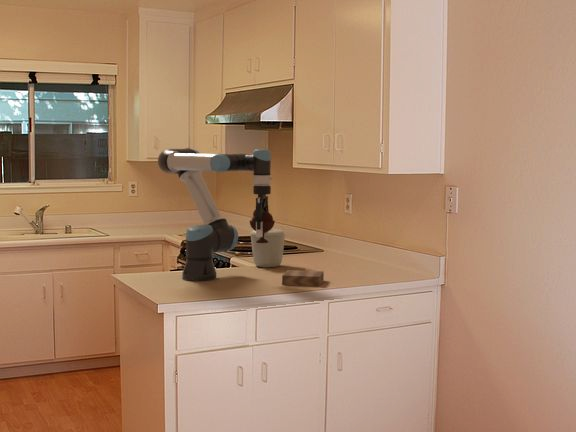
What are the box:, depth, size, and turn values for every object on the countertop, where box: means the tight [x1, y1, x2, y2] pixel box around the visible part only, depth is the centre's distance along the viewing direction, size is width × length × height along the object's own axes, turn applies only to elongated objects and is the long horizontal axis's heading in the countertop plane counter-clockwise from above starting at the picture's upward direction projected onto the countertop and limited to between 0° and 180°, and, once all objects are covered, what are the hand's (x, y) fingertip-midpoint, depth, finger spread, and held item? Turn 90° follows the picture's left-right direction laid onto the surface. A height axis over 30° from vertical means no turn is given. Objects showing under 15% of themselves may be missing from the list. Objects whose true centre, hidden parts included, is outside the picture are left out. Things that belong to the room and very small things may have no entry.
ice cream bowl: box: [249, 208, 276, 243], centre depth 336 cm, size 11×11×15 cm
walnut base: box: [281, 269, 325, 287], centre depth 335 cm, size 16×14×4 cm
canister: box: [249, 228, 287, 268], centre depth 378 cm, size 18×18×21 cm
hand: (262, 235), depth 336 cm, fingers closed on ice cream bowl, 11 cm apart
